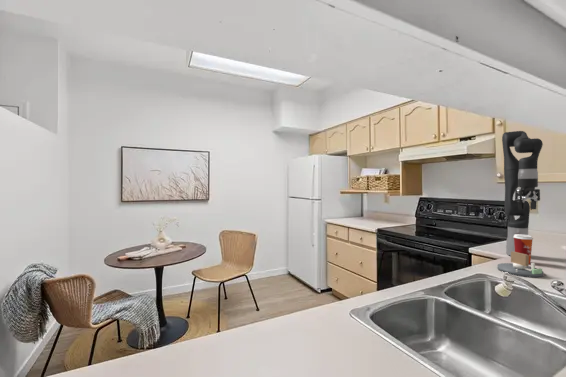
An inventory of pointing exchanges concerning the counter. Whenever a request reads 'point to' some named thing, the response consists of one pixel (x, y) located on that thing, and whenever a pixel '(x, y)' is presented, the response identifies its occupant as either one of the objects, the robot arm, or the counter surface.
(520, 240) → the coffee cup
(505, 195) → the robot arm
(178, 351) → the counter surface
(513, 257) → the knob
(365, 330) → the counter surface
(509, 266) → the dial plate
